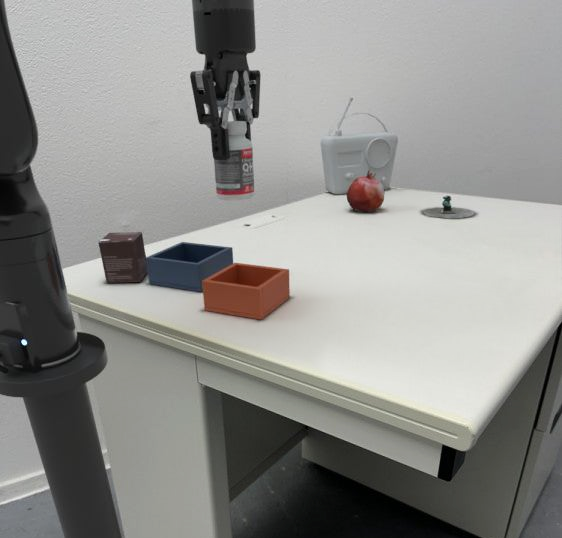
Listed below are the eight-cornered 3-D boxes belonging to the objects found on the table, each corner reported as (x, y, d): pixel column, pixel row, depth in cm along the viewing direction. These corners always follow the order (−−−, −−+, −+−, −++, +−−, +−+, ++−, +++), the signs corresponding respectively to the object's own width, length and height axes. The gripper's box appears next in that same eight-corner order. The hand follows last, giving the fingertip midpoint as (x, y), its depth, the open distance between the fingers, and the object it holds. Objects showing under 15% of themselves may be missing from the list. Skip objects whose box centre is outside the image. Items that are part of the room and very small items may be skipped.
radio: (330, 197, 155) (331, 98, 143) (318, 192, 162) (319, 97, 150) (398, 190, 161) (405, 95, 149) (384, 185, 168) (390, 94, 156)
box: (149, 272, 99) (143, 231, 95) (140, 283, 93) (133, 240, 90) (116, 272, 99) (108, 232, 95) (105, 283, 94) (97, 241, 90)
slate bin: (201, 292, 89) (198, 264, 86) (149, 284, 93) (145, 257, 91) (234, 272, 97) (232, 247, 95) (185, 266, 101) (182, 241, 99)
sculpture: (413, 212, 137) (432, 185, 136) (434, 233, 141) (453, 207, 140) (442, 218, 126) (463, 189, 125) (464, 241, 131) (485, 213, 130)
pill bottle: (253, 201, 75) (249, 122, 70) (214, 201, 75) (207, 123, 70) (256, 193, 79) (252, 119, 75) (219, 194, 80) (213, 120, 75)
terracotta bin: (261, 319, 78) (259, 289, 76) (204, 310, 82) (201, 280, 79) (289, 297, 85) (289, 269, 83) (236, 289, 89) (234, 262, 87)
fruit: (340, 208, 141) (341, 167, 136) (374, 205, 143) (376, 165, 138) (354, 216, 133) (355, 173, 128) (389, 212, 135) (392, 170, 130)
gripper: (227, 15, 74) (235, 150, 82) (162, 5, 62) (179, 163, 70) (276, 11, 71) (280, 151, 79) (218, 0, 59) (229, 165, 67)
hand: (232, 156), depth 75 cm, fingers closed on pill bottle, 5 cm apart
